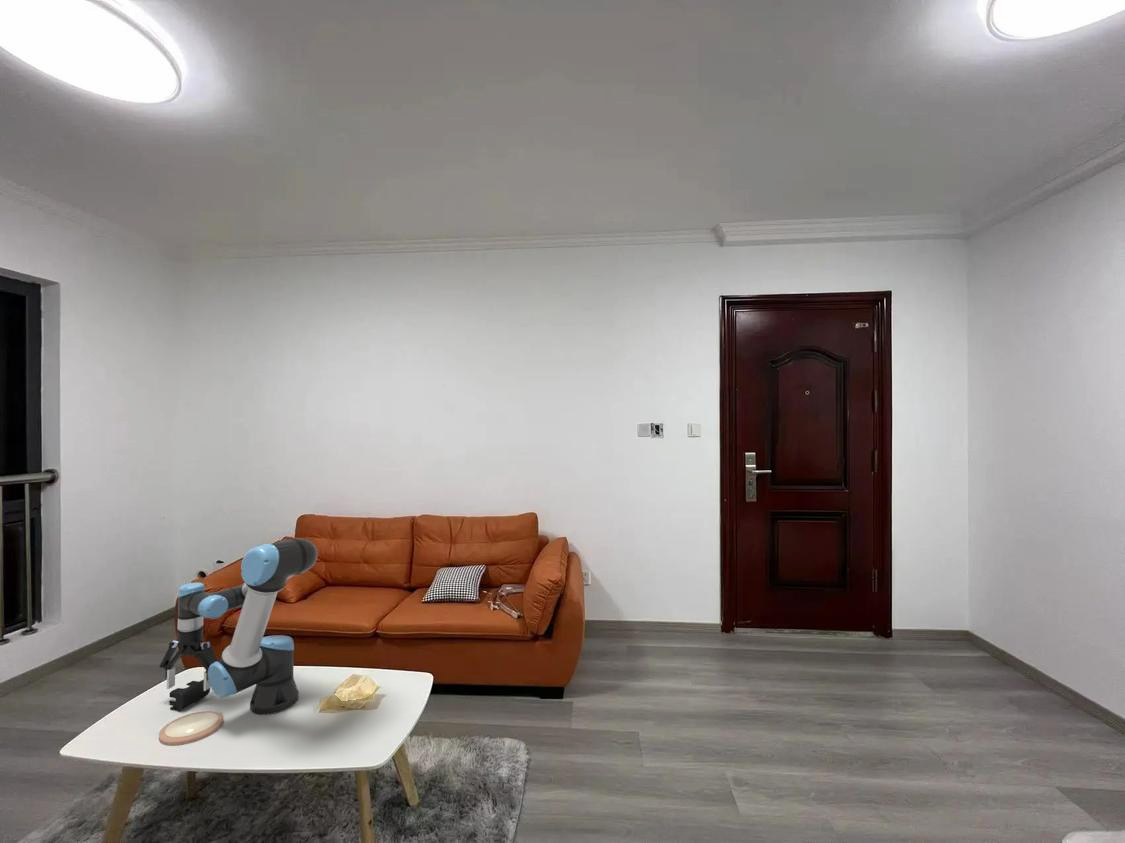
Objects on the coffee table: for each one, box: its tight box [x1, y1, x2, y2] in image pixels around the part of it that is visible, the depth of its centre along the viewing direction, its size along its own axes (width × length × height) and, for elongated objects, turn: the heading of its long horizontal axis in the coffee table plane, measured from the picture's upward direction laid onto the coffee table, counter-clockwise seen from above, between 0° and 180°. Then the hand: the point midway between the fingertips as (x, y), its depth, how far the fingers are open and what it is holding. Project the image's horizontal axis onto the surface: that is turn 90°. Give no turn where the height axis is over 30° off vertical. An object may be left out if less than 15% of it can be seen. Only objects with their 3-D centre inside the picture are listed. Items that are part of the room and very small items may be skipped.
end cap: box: [168, 678, 211, 712], centre depth 183 cm, size 10×7×7 cm
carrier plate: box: [158, 710, 224, 746], centre depth 167 cm, size 17×17×2 cm
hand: (189, 688), depth 183 cm, fingers open, 13 cm apart
